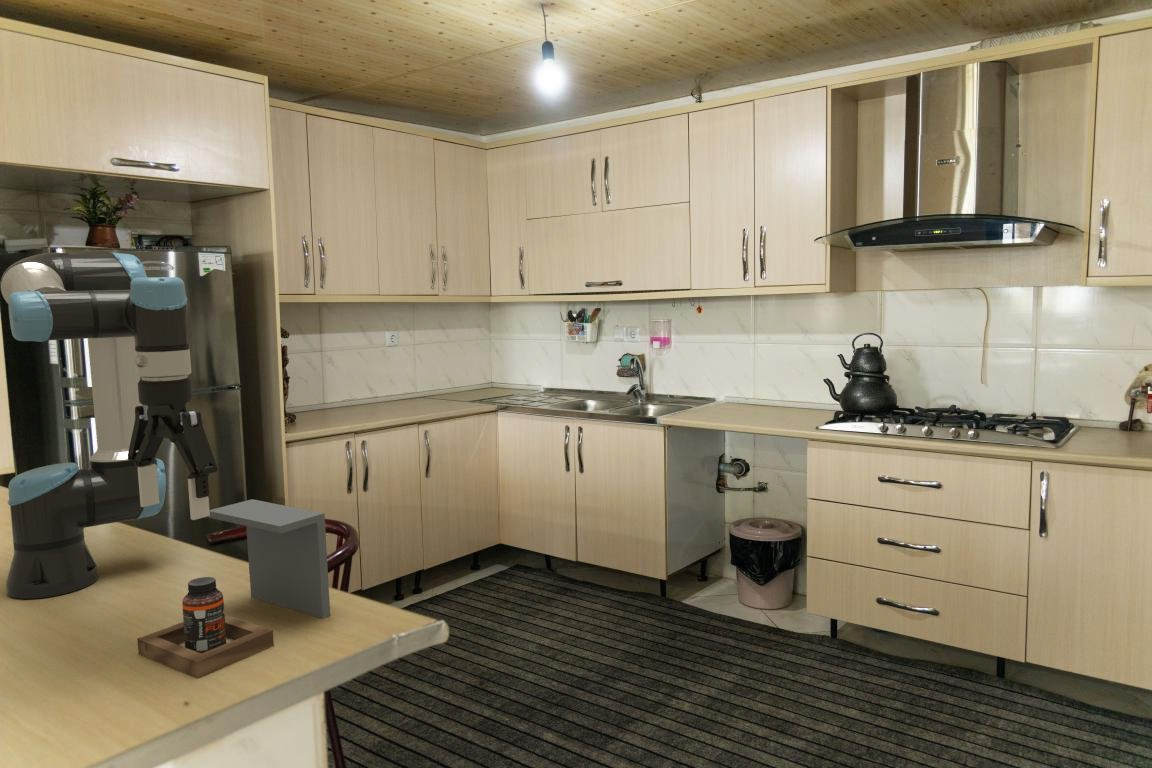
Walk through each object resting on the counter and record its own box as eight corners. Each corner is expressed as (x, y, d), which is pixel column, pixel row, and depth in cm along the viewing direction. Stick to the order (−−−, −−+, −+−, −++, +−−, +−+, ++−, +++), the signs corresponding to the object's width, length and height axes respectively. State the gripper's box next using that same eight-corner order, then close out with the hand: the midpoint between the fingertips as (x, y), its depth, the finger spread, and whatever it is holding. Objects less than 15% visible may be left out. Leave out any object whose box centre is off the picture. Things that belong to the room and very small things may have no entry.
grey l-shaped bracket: (214, 610, 146) (207, 510, 144) (258, 594, 153) (252, 499, 151) (286, 633, 135) (280, 526, 133) (330, 615, 143) (324, 513, 140)
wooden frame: (138, 653, 129) (137, 638, 128) (214, 625, 139) (213, 610, 139) (198, 678, 120) (196, 661, 120) (273, 645, 131) (272, 630, 130)
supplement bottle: (211, 659, 126) (206, 588, 125) (177, 656, 127) (171, 586, 126) (234, 643, 132) (229, 575, 131) (201, 640, 133) (196, 573, 132)
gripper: (96, 375, 130) (107, 505, 133) (189, 385, 117) (200, 529, 119) (143, 370, 136) (152, 495, 139) (236, 379, 123) (245, 516, 126)
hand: (174, 511), depth 129 cm, fingers open, 13 cm apart
